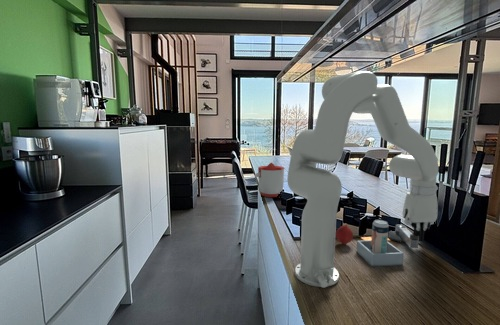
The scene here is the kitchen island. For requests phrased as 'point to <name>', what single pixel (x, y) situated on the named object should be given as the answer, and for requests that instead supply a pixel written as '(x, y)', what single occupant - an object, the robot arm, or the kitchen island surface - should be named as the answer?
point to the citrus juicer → (270, 180)
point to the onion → (344, 234)
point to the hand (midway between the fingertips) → (418, 239)
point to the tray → (380, 254)
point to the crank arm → (407, 236)
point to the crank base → (391, 235)
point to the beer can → (379, 237)
